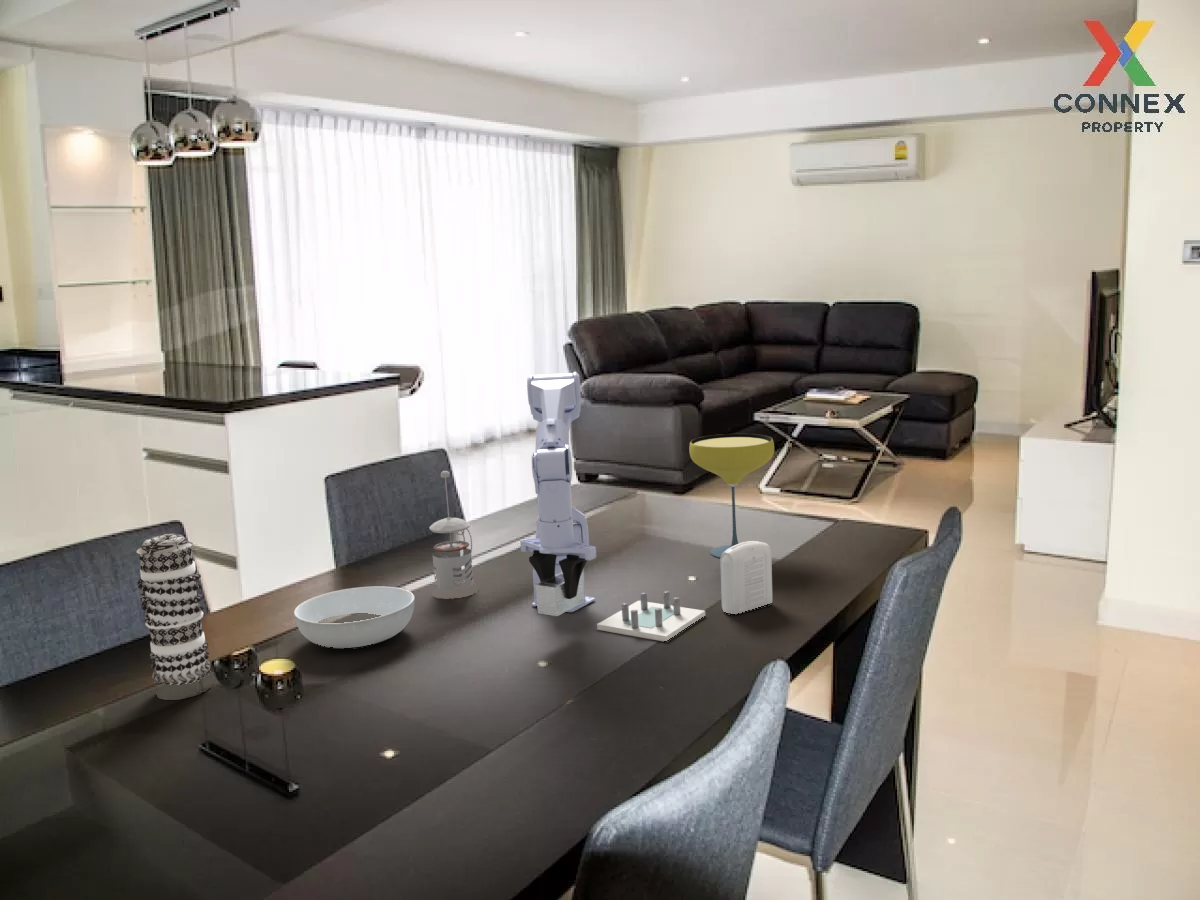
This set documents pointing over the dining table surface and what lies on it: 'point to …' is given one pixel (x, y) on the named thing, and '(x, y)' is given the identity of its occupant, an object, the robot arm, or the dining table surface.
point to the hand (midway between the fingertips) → (560, 595)
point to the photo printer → (746, 577)
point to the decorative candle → (173, 610)
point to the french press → (452, 552)
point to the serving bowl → (371, 600)
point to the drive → (556, 596)
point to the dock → (651, 619)
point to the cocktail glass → (731, 462)
